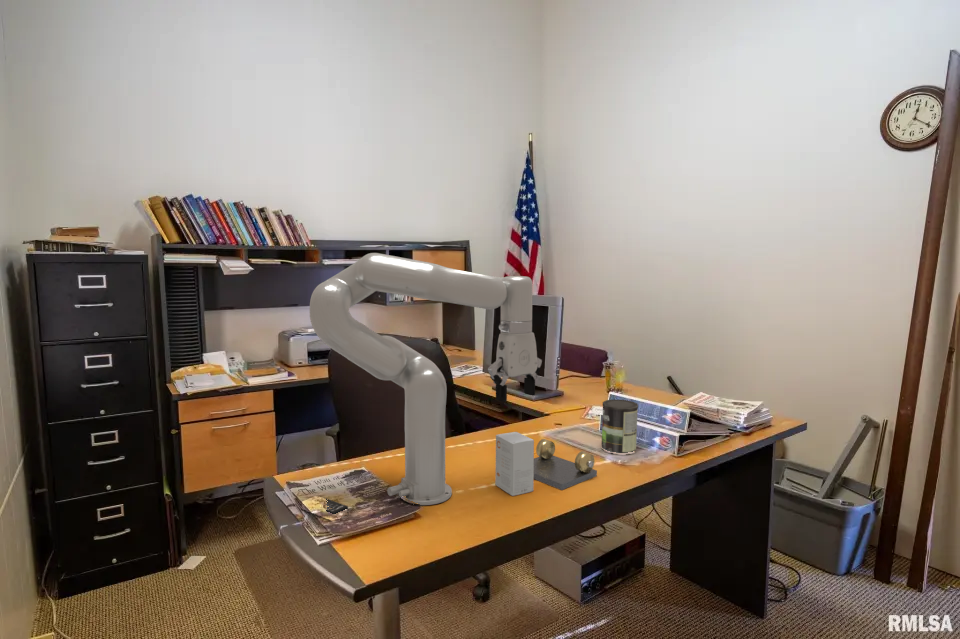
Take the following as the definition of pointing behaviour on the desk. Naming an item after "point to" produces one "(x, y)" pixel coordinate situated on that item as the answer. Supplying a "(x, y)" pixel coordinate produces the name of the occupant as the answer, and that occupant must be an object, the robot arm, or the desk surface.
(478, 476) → the desk surface
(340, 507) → the multiport hub
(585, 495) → the desk surface
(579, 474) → the grey brass knob stand
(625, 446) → the coffee can
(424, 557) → the desk surface
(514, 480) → the small box
